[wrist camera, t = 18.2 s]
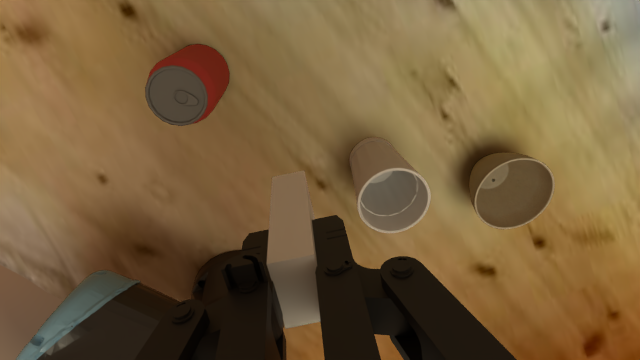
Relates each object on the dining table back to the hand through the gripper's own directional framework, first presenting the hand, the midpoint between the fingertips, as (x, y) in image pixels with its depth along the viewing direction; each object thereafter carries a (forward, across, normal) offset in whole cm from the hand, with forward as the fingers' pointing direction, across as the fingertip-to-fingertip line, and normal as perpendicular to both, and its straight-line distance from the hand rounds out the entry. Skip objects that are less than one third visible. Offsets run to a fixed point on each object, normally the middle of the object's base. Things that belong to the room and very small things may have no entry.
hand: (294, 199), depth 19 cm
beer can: (+33, -10, +2) cm, 34 cm away
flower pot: (+33, +25, -18) cm, 45 cm away
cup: (+33, +9, -13) cm, 36 cm away
